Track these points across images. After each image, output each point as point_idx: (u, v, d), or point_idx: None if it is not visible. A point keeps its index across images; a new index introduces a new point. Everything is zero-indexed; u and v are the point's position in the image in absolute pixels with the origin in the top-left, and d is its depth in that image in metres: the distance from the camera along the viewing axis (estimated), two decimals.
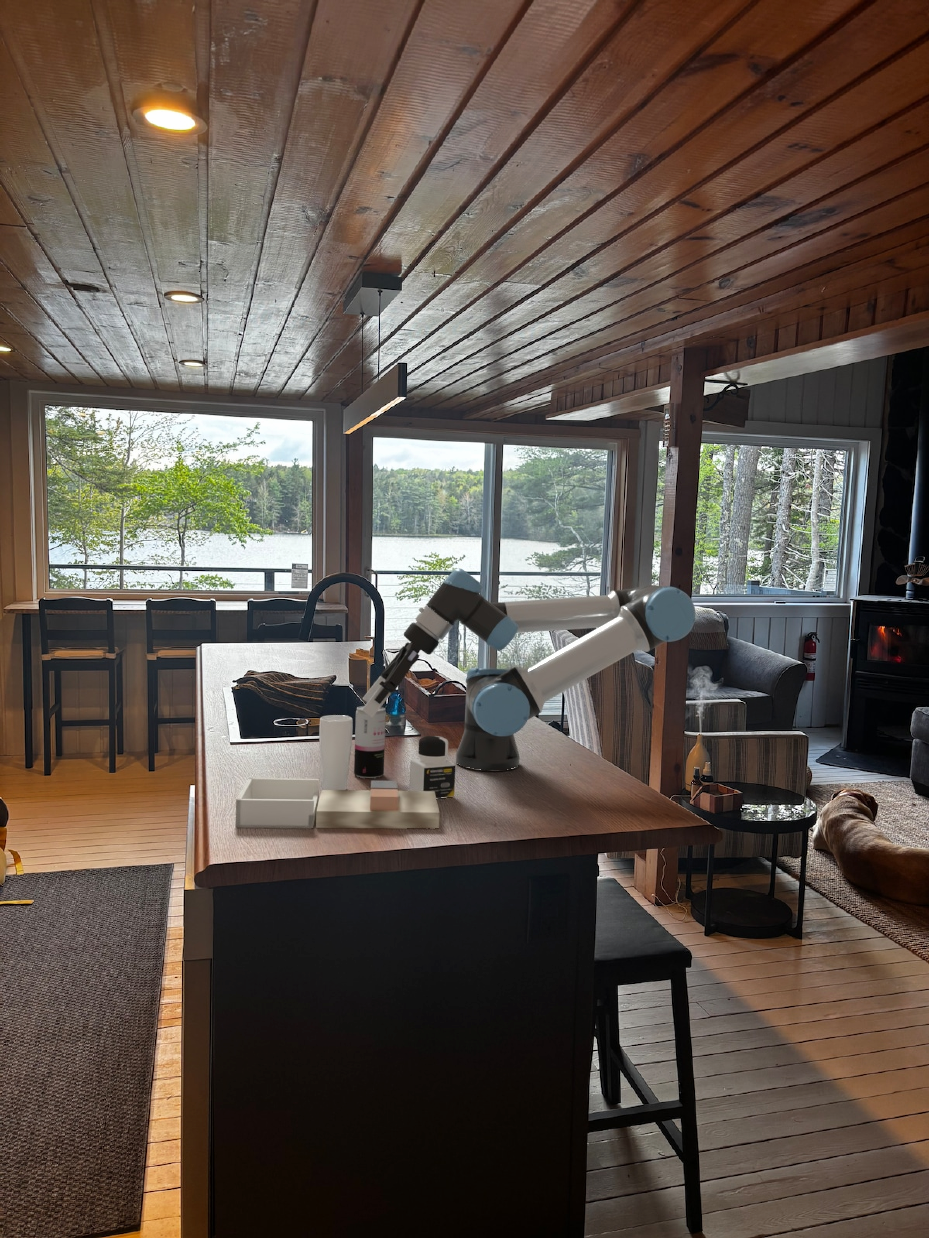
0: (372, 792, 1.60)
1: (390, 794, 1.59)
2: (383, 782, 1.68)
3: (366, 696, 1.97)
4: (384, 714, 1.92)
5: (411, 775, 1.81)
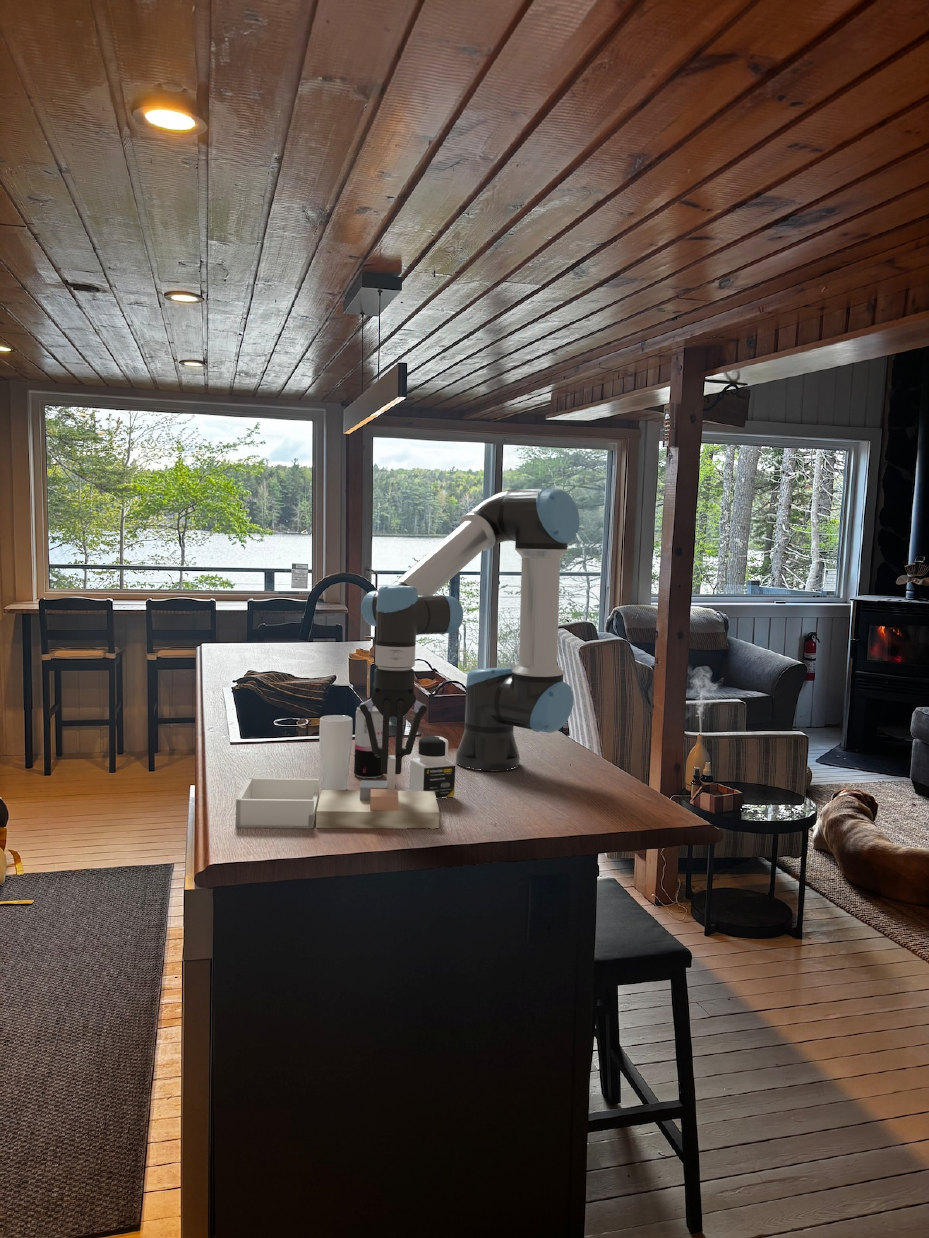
0: (372, 792, 1.60)
1: (390, 794, 1.59)
2: (373, 782, 1.67)
3: None
4: None
5: (411, 775, 1.81)
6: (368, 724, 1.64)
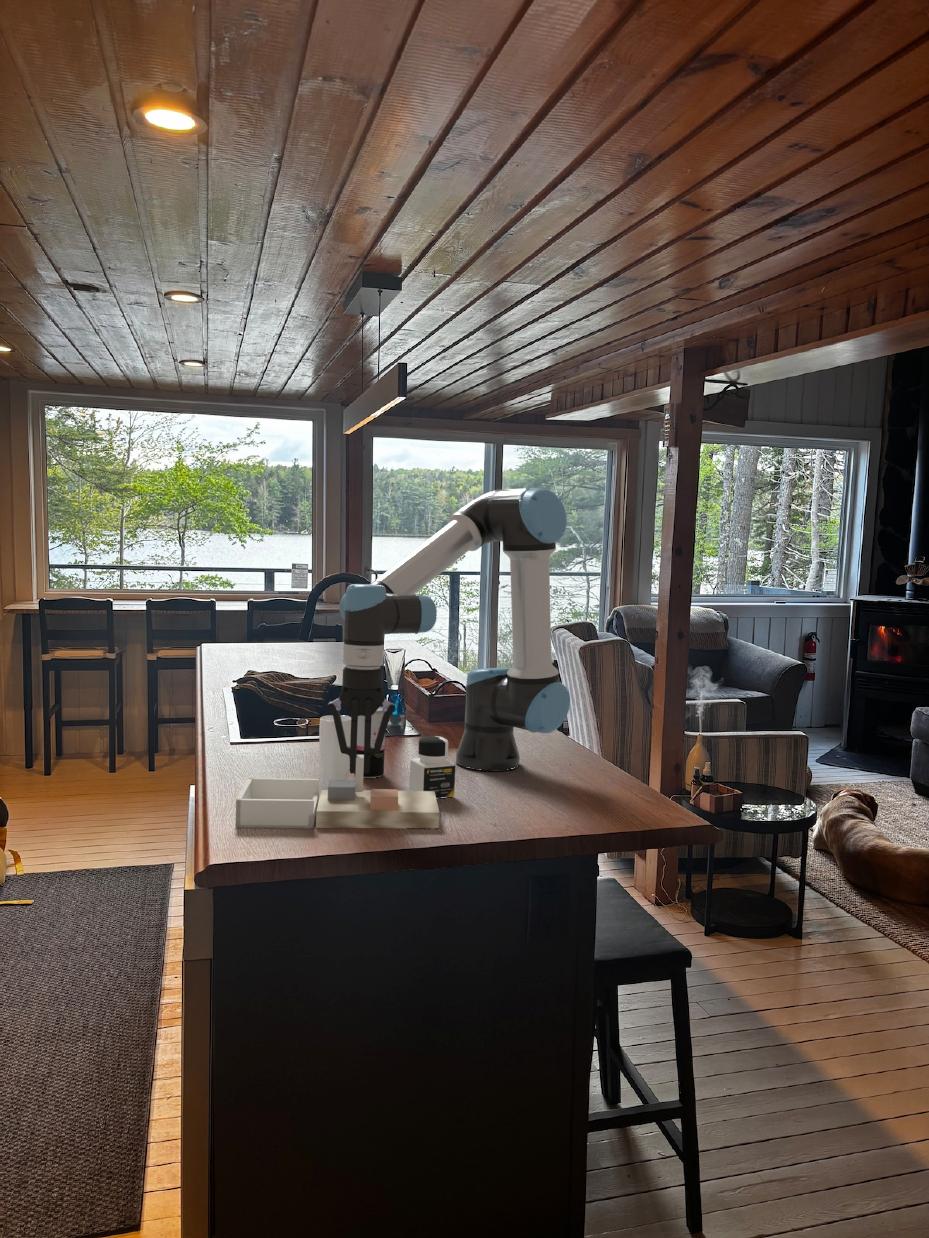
0: (372, 792, 1.60)
1: (390, 794, 1.59)
2: (341, 781, 1.67)
3: None
4: None
5: (411, 775, 1.81)
6: (336, 723, 1.63)
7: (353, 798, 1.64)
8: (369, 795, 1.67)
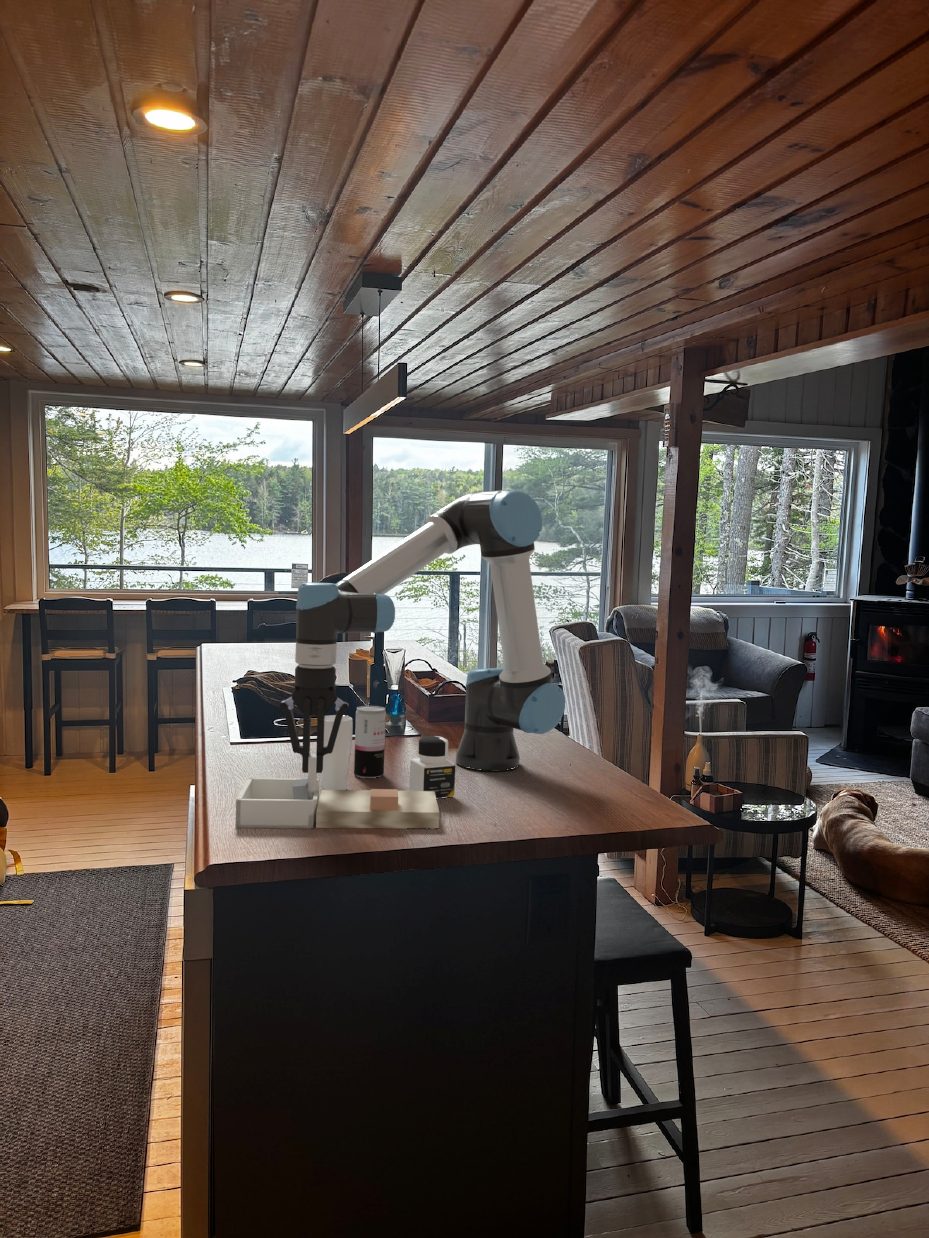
0: (372, 792, 1.60)
1: (390, 794, 1.59)
2: None
3: None
4: (384, 714, 1.92)
5: (411, 775, 1.81)
6: (288, 722, 1.63)
7: (304, 786, 1.62)
8: (369, 795, 1.67)
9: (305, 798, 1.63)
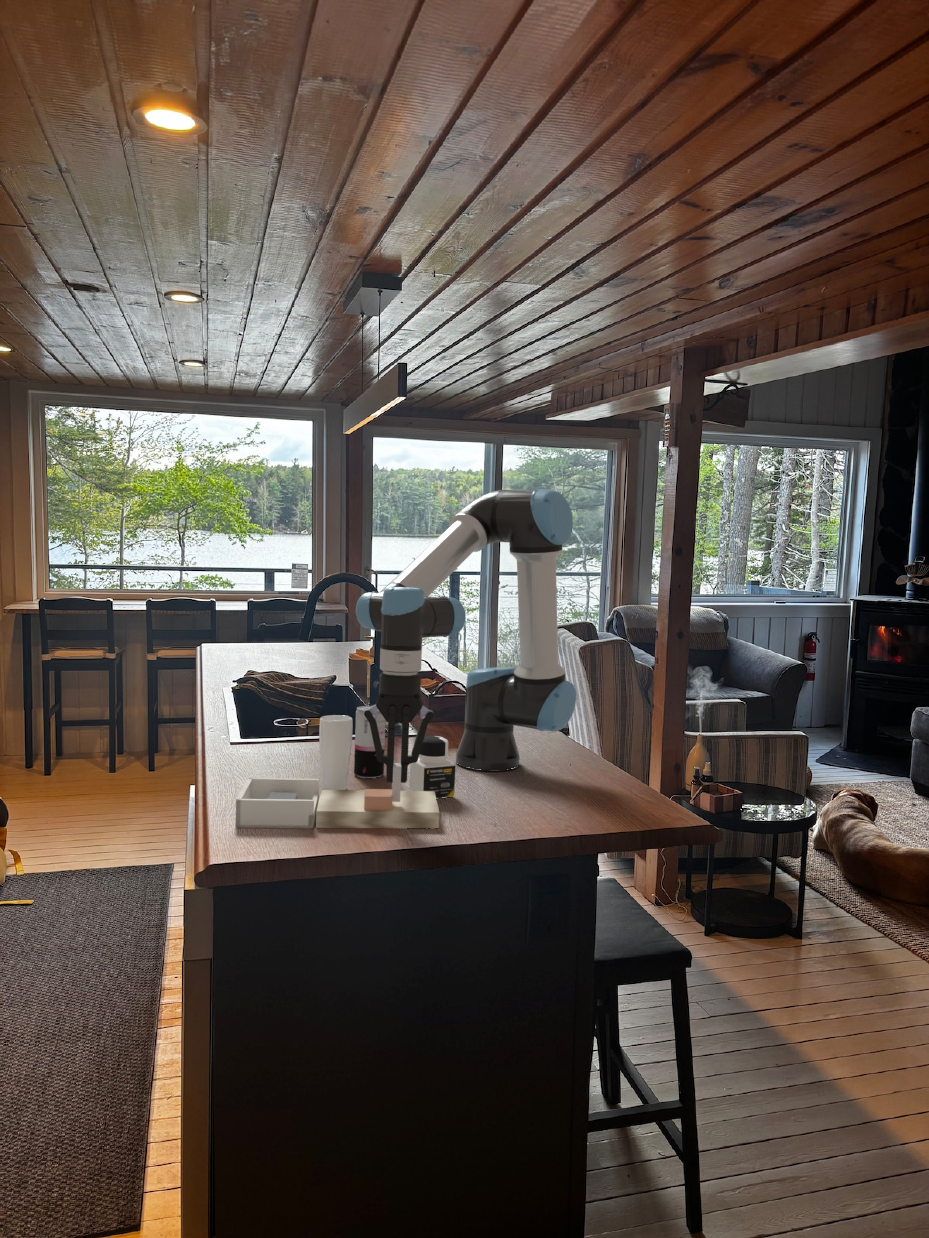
0: (366, 792, 1.60)
1: (384, 794, 1.59)
2: None
3: None
4: None
5: (411, 775, 1.81)
6: (373, 731, 1.58)
7: None
8: None
9: None
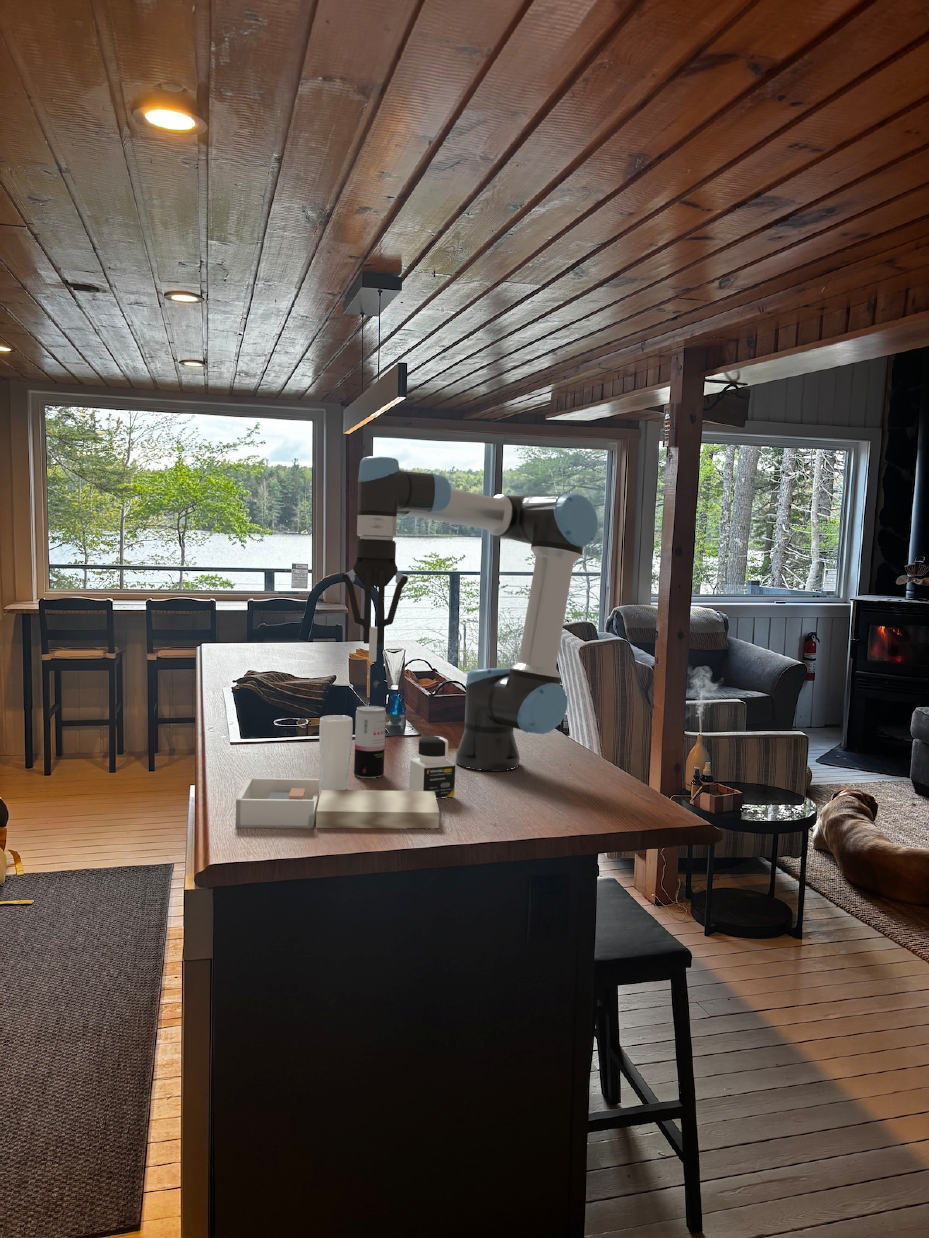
0: None
1: None
2: None
3: None
4: (384, 714, 1.92)
5: (411, 775, 1.81)
6: (350, 593, 1.67)
7: None
8: (369, 795, 1.67)
9: None
